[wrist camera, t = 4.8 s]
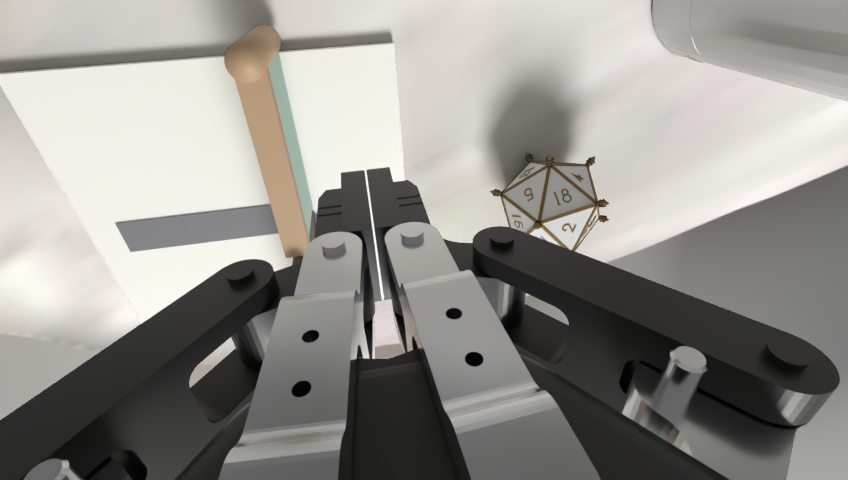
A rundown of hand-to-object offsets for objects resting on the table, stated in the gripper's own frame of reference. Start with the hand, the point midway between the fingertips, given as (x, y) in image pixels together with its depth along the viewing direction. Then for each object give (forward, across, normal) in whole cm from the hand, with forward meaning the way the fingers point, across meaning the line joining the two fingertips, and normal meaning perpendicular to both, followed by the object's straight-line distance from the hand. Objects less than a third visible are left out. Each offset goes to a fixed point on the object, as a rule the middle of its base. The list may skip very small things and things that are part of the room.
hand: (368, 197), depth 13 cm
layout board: (+19, +9, +9) cm, 23 cm away
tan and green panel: (+18, +5, +3) cm, 19 cm away
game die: (+19, -14, +10) cm, 26 cm away
